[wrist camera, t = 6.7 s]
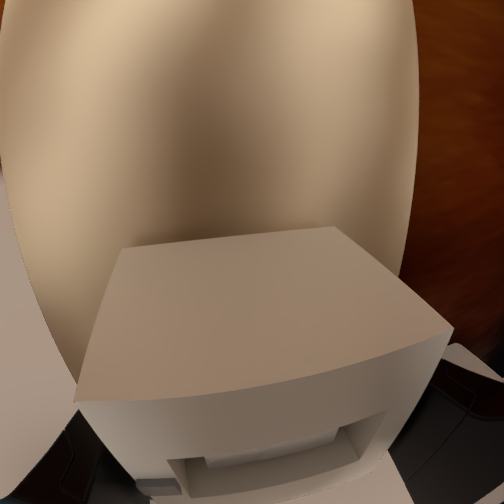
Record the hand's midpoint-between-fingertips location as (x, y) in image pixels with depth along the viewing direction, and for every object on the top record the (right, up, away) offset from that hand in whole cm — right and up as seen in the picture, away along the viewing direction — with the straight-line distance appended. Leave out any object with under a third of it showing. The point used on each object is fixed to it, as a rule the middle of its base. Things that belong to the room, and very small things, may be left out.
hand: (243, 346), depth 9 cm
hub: (0, 0, +1) cm, 1 cm away
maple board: (-1, +6, +1) cm, 6 cm away
